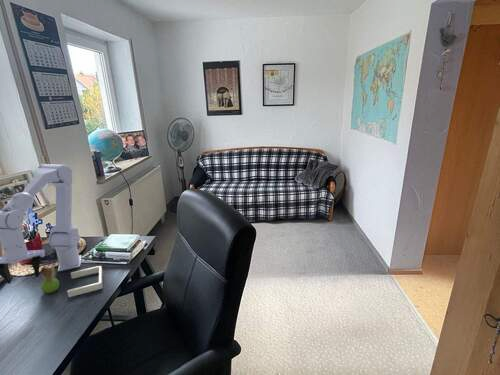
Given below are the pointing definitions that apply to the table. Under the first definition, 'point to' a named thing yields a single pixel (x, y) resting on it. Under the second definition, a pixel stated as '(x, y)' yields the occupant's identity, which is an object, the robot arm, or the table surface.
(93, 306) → the table surface
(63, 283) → the table surface
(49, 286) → the snail figurine
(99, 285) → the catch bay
